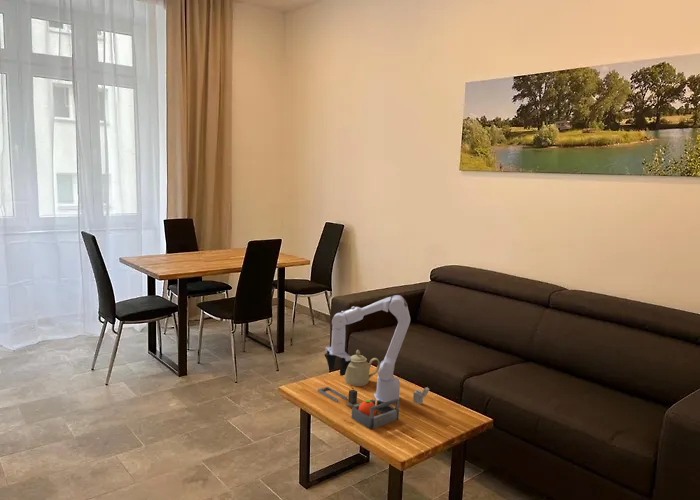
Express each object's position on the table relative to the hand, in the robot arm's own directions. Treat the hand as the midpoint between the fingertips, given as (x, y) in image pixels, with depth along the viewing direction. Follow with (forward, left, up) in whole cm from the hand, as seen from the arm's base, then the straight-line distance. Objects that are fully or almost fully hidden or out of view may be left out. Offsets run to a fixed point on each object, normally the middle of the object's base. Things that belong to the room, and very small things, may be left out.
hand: (336, 372), depth 231 cm
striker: (-7, +16, -9) cm, 20 cm away
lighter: (-34, +12, -10) cm, 37 cm away
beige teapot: (-13, -14, -10) cm, 21 cm away
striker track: (+2, +2, -9) cm, 10 cm away
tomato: (-9, +24, -10) cm, 27 cm away
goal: (-12, +24, -9) cm, 29 cm away
